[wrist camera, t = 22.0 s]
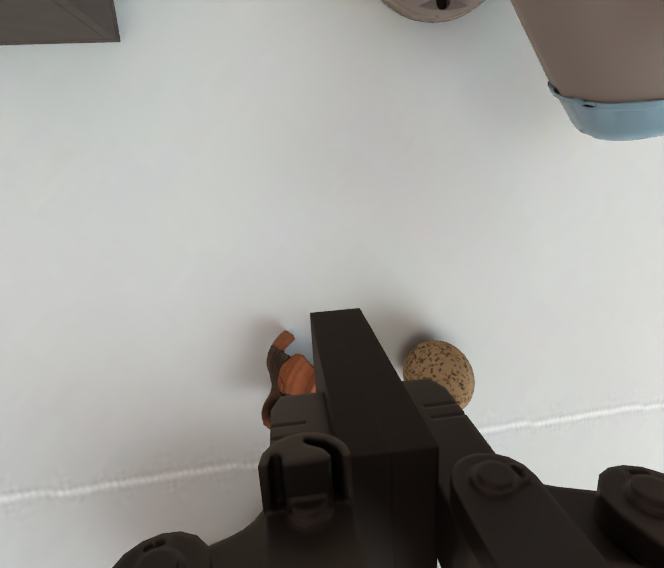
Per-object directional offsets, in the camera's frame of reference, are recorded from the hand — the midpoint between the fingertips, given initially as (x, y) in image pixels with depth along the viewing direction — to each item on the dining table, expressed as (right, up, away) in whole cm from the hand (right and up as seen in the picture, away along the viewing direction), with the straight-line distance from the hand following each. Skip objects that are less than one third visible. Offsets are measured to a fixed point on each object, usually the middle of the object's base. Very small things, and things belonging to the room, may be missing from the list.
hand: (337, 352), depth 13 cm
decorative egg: (+11, -7, +37) cm, 39 cm away
